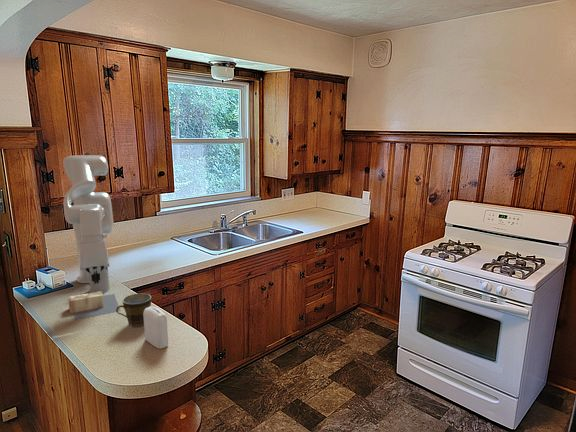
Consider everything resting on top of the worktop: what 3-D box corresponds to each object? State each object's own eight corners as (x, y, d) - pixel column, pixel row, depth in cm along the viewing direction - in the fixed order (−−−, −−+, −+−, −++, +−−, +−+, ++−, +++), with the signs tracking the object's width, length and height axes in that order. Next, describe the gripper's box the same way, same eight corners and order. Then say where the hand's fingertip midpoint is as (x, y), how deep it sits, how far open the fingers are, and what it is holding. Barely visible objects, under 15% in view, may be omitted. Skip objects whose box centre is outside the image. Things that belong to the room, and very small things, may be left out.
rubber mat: (72, 302, 161) (72, 301, 161) (114, 295, 169) (114, 293, 169) (74, 321, 144) (74, 320, 144) (120, 312, 152) (120, 310, 152)
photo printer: (143, 339, 132) (140, 306, 129) (154, 335, 135) (152, 302, 132) (158, 350, 125) (156, 315, 123) (170, 345, 128) (168, 311, 126)
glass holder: (90, 297, 167) (87, 264, 164) (86, 286, 178) (83, 255, 176) (112, 293, 172) (109, 260, 169) (107, 283, 183) (104, 253, 180)
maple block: (102, 302, 160) (69, 308, 154) (101, 291, 159) (68, 296, 153) (103, 306, 156) (70, 313, 150) (102, 295, 155) (68, 301, 149)
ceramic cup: (143, 315, 150) (142, 291, 148) (158, 322, 144) (156, 297, 142) (111, 327, 140) (109, 301, 138) (125, 336, 134) (123, 309, 132)
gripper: (111, 234, 159) (115, 276, 162) (70, 238, 151) (74, 282, 155) (113, 238, 152) (117, 282, 156) (70, 243, 145) (75, 288, 148)
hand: (96, 282), depth 155 cm, fingers closed
